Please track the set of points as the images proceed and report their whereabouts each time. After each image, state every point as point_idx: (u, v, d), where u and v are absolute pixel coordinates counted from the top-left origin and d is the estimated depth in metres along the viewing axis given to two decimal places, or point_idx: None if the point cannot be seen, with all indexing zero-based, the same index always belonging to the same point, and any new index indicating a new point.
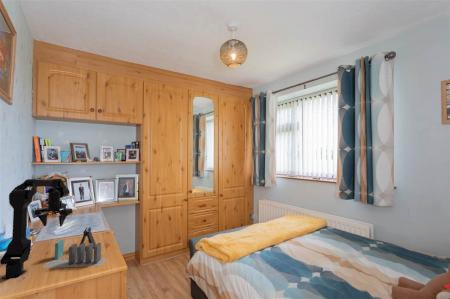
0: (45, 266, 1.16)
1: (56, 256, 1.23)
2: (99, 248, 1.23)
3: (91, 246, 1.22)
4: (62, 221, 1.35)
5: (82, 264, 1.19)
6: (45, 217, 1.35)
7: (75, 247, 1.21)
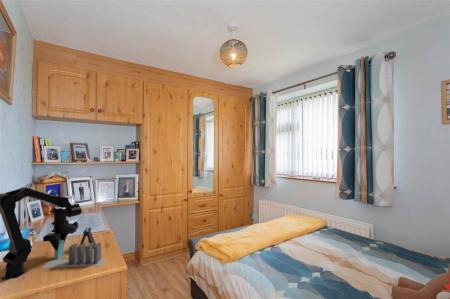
0: (45, 266, 1.16)
1: (56, 256, 1.23)
2: (99, 248, 1.23)
3: (91, 246, 1.22)
4: (54, 245, 1.22)
5: (82, 264, 1.19)
6: (63, 237, 1.29)
7: (75, 247, 1.21)
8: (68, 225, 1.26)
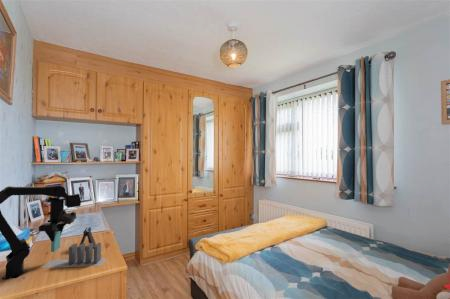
0: (45, 266, 1.16)
1: (52, 248, 1.17)
2: (99, 248, 1.23)
3: (91, 246, 1.22)
4: (50, 236, 1.16)
5: (82, 264, 1.19)
6: (60, 227, 1.22)
7: (75, 247, 1.21)
8: (65, 215, 1.19)
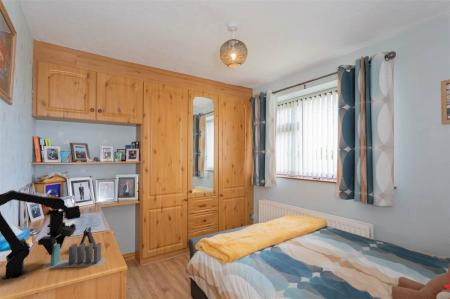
0: (45, 266, 1.16)
1: (52, 261, 1.17)
2: (99, 248, 1.23)
3: (91, 246, 1.22)
4: (48, 249, 1.15)
5: (82, 264, 1.19)
6: (60, 239, 1.23)
7: (75, 247, 1.21)
8: (65, 228, 1.19)
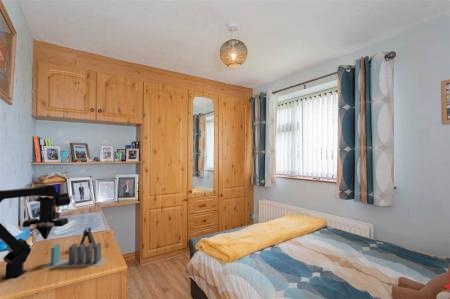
0: (45, 266, 1.16)
1: (52, 261, 1.17)
2: (99, 248, 1.23)
3: (91, 246, 1.22)
4: (47, 233, 1.18)
5: (82, 264, 1.19)
6: None
7: (75, 247, 1.21)
8: None
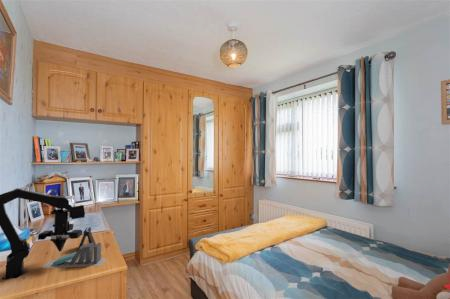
0: (45, 266, 1.16)
1: (57, 262, 1.17)
2: (99, 248, 1.23)
3: (92, 246, 1.22)
4: (62, 245, 1.19)
5: (82, 264, 1.19)
6: None
7: None
8: None
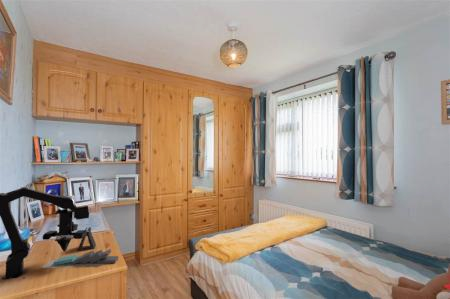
0: (45, 266, 1.16)
1: (57, 263, 1.17)
2: None
3: None
4: (67, 245, 1.20)
5: (82, 264, 1.19)
6: None
7: None
8: None
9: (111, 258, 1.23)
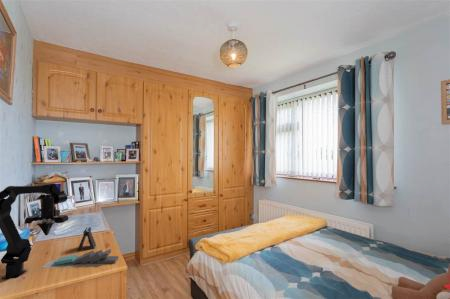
0: (45, 266, 1.16)
1: (57, 263, 1.17)
2: None
3: None
4: (48, 229, 1.24)
5: (82, 264, 1.19)
6: None
7: None
8: None
9: (111, 258, 1.23)
